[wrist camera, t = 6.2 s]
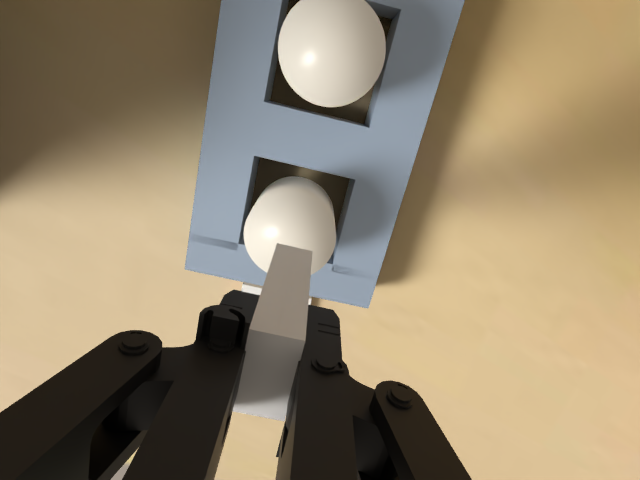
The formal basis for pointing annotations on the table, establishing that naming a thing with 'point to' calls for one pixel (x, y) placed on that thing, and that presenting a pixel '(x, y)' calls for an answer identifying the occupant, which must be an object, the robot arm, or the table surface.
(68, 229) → the table surface
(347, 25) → the button middle
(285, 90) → the table surface
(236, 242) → the button board
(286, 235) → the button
